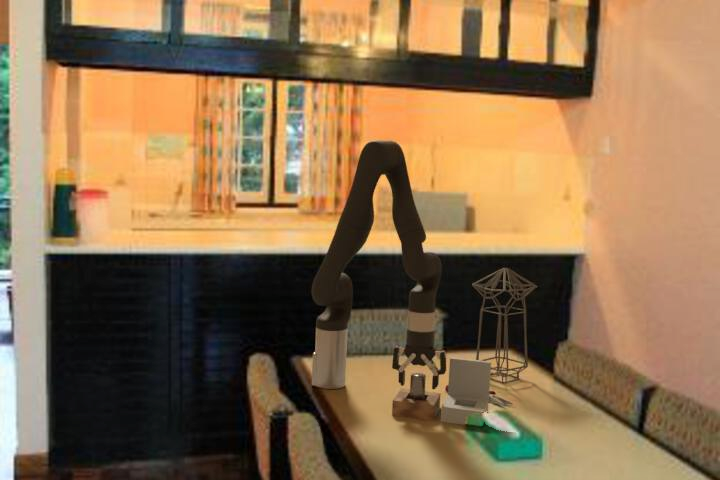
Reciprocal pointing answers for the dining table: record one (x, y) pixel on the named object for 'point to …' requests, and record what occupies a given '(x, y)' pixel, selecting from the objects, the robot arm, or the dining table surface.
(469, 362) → the block
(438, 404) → the socket block
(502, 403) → the pliers
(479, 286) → the geometric lantern
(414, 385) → the steel rod
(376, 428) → the dining table surface
